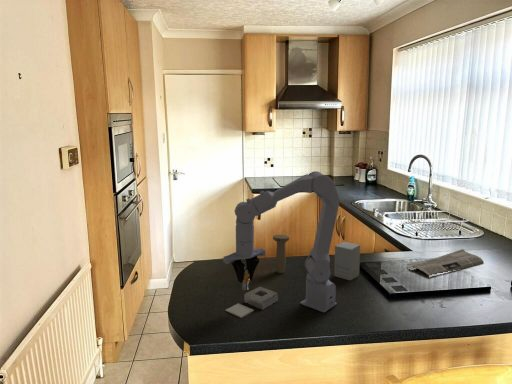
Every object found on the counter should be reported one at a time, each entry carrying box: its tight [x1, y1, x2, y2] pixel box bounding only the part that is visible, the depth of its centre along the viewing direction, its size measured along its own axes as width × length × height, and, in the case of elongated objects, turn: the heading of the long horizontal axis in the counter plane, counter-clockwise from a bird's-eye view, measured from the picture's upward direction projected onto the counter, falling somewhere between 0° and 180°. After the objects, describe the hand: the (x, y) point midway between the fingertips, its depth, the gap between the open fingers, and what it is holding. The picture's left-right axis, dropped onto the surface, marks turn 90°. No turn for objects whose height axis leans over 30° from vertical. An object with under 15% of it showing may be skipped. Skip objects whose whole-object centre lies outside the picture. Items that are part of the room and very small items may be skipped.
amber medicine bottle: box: [241, 266, 251, 291], centre depth 126 cm, size 3×3×7 cm
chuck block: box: [243, 286, 279, 310], centre depth 132 cm, size 8×8×3 cm
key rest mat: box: [225, 302, 255, 319], centre depth 126 cm, size 7×6×1 cm
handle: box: [272, 234, 290, 274], centre depth 157 cm, size 5×6×15 cm
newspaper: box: [406, 248, 484, 276], centre depth 164 cm, size 35×12×4 cm, turn 117°
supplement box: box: [334, 241, 361, 281], centre depth 153 cm, size 7×7×13 cm
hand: (245, 280), depth 126 cm, fingers closed on amber medicine bottle, 3 cm apart
